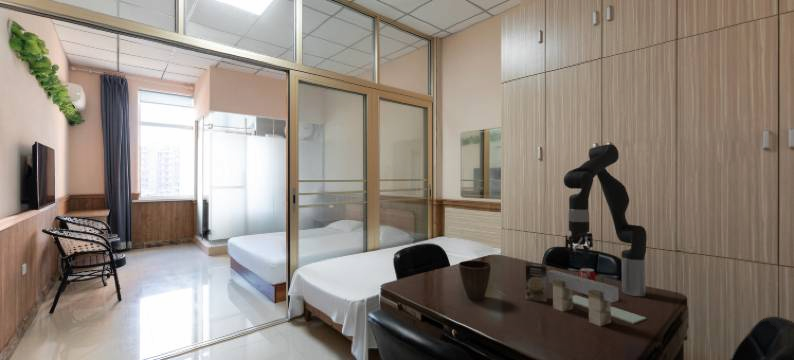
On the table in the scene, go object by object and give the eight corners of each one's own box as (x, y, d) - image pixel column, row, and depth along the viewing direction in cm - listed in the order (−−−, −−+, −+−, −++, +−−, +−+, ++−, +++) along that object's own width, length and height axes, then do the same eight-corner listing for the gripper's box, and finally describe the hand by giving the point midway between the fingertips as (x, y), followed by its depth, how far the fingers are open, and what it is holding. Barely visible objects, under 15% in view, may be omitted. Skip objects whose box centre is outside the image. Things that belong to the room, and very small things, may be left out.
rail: (553, 281, 150) (553, 269, 150) (618, 300, 125) (618, 287, 125) (547, 282, 148) (547, 271, 148) (612, 302, 123) (611, 288, 123)
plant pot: (456, 300, 154) (455, 266, 154) (462, 290, 168) (462, 259, 168) (489, 304, 149) (488, 269, 149) (493, 294, 162) (492, 261, 163)
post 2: (599, 318, 133) (599, 287, 133) (610, 322, 129) (610, 290, 129) (588, 321, 130) (588, 290, 130) (600, 326, 126) (599, 293, 126)
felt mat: (575, 296, 158) (575, 295, 158) (646, 319, 131) (646, 317, 131) (563, 299, 154) (563, 298, 154) (633, 323, 127) (633, 322, 127)
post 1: (563, 305, 147) (563, 277, 147) (572, 308, 143) (572, 279, 143) (553, 308, 144) (552, 279, 144) (562, 311, 140) (561, 282, 140)
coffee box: (525, 299, 155) (524, 265, 155) (526, 295, 161) (525, 262, 161) (546, 302, 151) (546, 267, 151) (547, 297, 157) (546, 263, 157)
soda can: (598, 297, 156) (598, 271, 156) (582, 296, 158) (581, 271, 158) (592, 292, 163) (592, 267, 163) (577, 291, 165) (576, 267, 165)
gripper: (581, 218, 143) (581, 255, 143) (559, 220, 137) (559, 259, 137) (598, 219, 136) (599, 259, 136) (576, 222, 130) (576, 263, 130)
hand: (579, 259), depth 136 cm, fingers open, 8 cm apart
